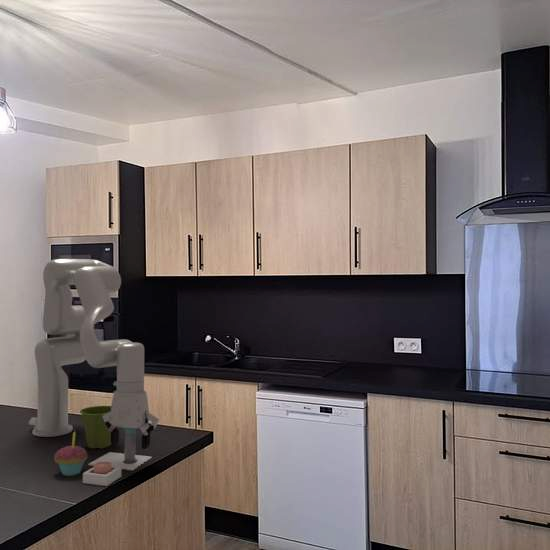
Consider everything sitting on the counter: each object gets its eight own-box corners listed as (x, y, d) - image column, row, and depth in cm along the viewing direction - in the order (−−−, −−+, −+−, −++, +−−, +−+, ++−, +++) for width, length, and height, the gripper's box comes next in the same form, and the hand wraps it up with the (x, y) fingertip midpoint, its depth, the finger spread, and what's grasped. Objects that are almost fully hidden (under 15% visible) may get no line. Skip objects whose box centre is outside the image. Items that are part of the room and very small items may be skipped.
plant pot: (126, 441, 183) (126, 406, 183) (105, 453, 172) (106, 415, 171) (93, 438, 186) (94, 403, 186) (71, 449, 175) (71, 412, 175)
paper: (88, 465, 161) (88, 463, 161) (109, 453, 172) (109, 451, 172) (132, 470, 157) (132, 469, 157) (151, 457, 168) (152, 456, 168)
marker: (122, 462, 163) (122, 423, 162) (127, 458, 166) (128, 420, 165) (131, 463, 162) (132, 424, 162) (137, 460, 165) (137, 421, 165)
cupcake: (93, 472, 155) (93, 428, 155) (63, 481, 149) (64, 434, 149) (77, 465, 161) (77, 422, 161) (47, 472, 155) (48, 428, 155)
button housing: (82, 483, 148) (82, 473, 148) (98, 473, 155) (98, 464, 155) (106, 486, 146) (106, 476, 146) (121, 476, 153) (121, 467, 153)
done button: (90, 475, 149) (90, 466, 149) (99, 470, 153) (99, 460, 153) (105, 477, 147) (105, 468, 147) (114, 472, 152) (114, 462, 152)
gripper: (96, 387, 162) (96, 447, 162) (151, 391, 157) (151, 453, 158) (110, 382, 169) (110, 439, 170) (164, 385, 165) (163, 445, 165)
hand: (130, 446), depth 164 cm, fingers open, 9 cm apart
